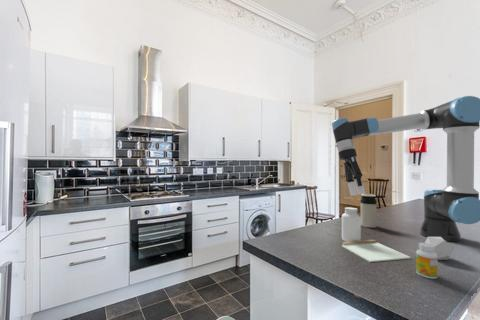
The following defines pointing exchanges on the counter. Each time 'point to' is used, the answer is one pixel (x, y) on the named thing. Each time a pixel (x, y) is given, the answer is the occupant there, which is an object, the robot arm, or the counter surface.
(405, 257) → the mat
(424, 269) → the supplement bottle
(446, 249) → the die
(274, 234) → the counter surface
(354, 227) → the pill bottle
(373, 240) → the stop strip
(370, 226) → the travel mug
